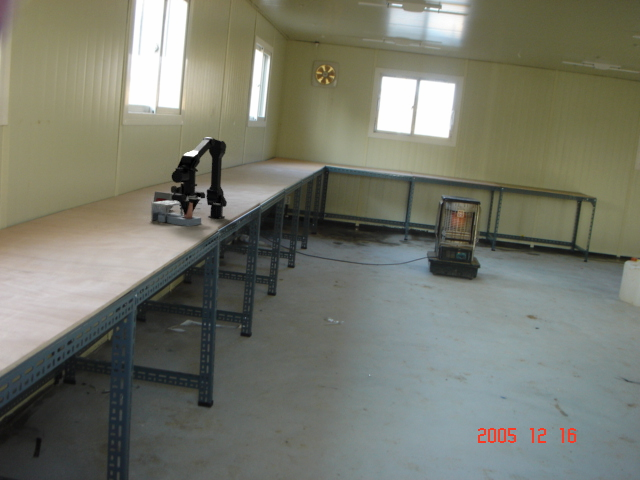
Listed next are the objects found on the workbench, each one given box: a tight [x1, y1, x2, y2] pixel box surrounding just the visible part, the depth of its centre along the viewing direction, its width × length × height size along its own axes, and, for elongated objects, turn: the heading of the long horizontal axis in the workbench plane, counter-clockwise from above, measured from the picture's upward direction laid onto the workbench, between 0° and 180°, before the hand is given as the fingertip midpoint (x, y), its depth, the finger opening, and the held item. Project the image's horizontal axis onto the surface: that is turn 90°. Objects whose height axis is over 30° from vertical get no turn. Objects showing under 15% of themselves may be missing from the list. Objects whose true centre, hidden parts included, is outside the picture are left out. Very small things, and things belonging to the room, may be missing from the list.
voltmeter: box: [152, 191, 201, 213], centre depth 316 cm, size 27×11×10 cm, turn 108°
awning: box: [150, 200, 184, 224], centre depth 285 cm, size 13×9×9 cm
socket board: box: [157, 212, 202, 227], centre depth 283 cm, size 10×18×3 cm, turn 64°
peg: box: [183, 203, 194, 219], centre depth 280 cm, size 4×4×8 cm
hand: (188, 214), depth 280 cm, fingers closed on peg, 4 cm apart
